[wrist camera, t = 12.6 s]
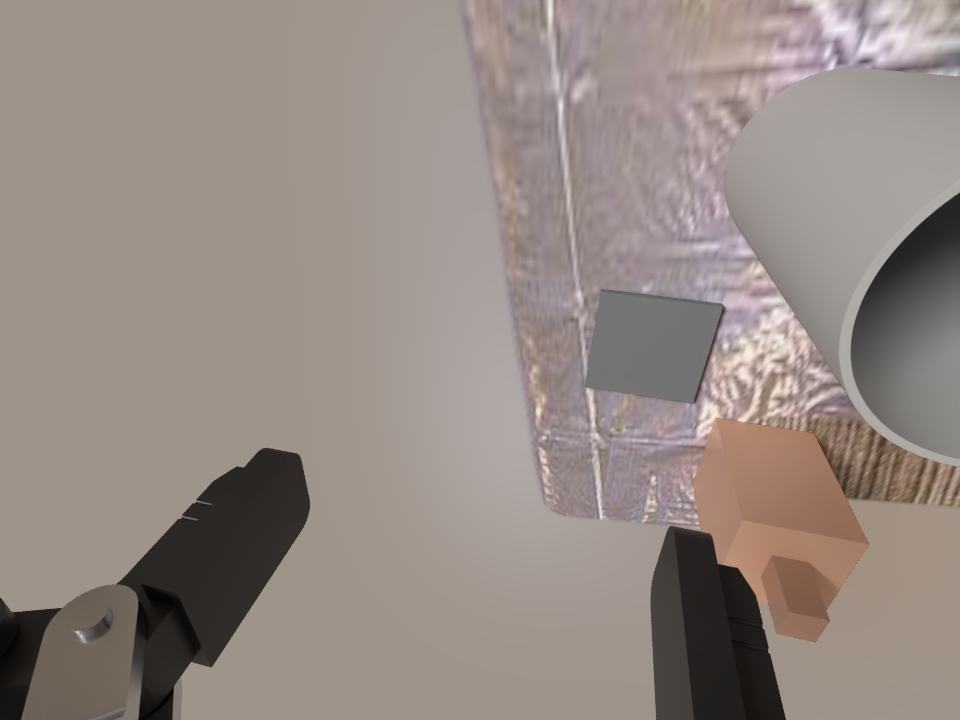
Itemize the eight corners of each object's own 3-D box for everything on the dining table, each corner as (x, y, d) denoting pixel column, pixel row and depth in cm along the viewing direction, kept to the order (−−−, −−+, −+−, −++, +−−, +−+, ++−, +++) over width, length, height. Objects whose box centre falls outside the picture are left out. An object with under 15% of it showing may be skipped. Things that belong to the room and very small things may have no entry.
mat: (721, 303, 44) (723, 306, 43) (692, 399, 49) (693, 403, 49) (601, 289, 46) (601, 291, 45) (585, 383, 51) (584, 386, 50)
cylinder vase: (765, 279, 42) (908, 510, 21) (692, 145, 38) (779, 263, 18) (950, 190, 36) (1398, 387, 15) (885, 21, 33) (1359, -22, 12)
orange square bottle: (813, 433, 48) (899, 604, 33) (781, 499, 52) (844, 675, 38) (715, 417, 49) (756, 574, 35) (692, 483, 54) (720, 646, 39)
